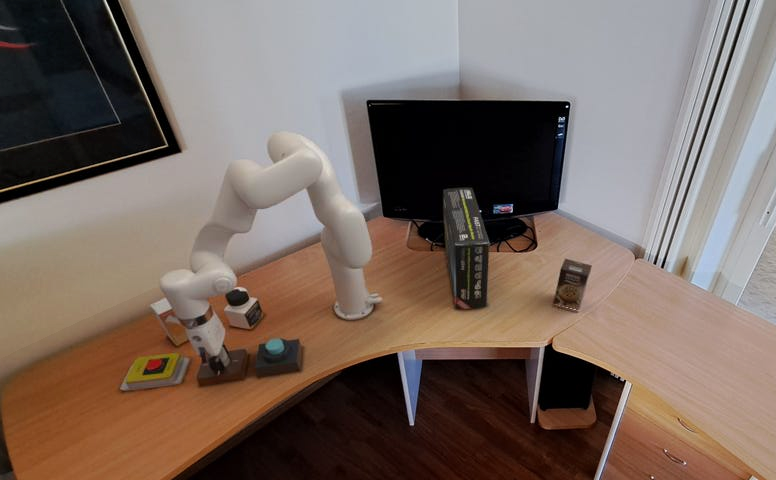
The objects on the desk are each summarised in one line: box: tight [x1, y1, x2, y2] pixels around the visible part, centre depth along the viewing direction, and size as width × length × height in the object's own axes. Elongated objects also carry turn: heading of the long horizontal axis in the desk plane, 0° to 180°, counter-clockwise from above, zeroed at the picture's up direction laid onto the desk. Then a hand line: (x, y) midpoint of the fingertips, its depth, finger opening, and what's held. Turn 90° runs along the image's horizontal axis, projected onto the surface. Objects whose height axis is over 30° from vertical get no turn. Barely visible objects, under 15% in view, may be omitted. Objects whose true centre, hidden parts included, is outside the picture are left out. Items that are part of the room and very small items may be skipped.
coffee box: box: [552, 258, 593, 313], centre depth 146 cm, size 9×6×16 cm
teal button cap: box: [266, 338, 284, 355], centre depth 124 cm, size 4×4×2 cm
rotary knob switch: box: [195, 348, 249, 386], centre depth 124 cm, size 11×9×3 cm
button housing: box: [254, 338, 303, 378], centre depth 126 cm, size 11×9×6 cm
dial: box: [208, 346, 230, 367], centre depth 122 cm, size 4×4×5 cm
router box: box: [442, 187, 491, 310], centre depth 152 cm, size 36×11×27 cm, turn 10°
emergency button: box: [119, 352, 191, 392], centre depth 122 cm, size 9×4×15 cm
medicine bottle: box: [223, 286, 265, 330], centre depth 137 cm, size 7×7×12 cm
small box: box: [149, 297, 189, 347], centre depth 131 cm, size 8×6×13 cm
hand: (220, 361), depth 123 cm, fingers closed on dial, 4 cm apart
